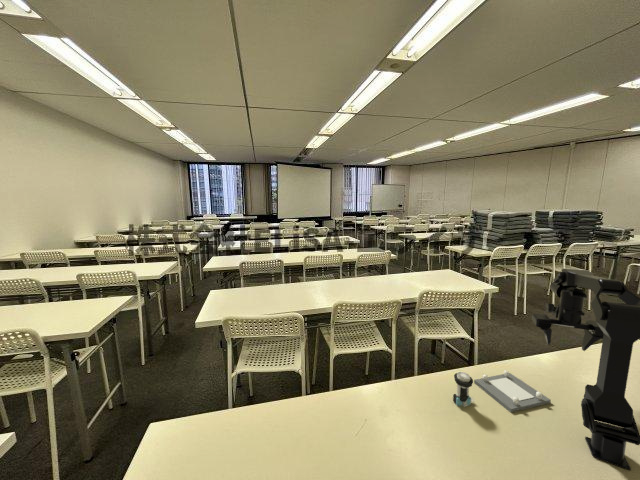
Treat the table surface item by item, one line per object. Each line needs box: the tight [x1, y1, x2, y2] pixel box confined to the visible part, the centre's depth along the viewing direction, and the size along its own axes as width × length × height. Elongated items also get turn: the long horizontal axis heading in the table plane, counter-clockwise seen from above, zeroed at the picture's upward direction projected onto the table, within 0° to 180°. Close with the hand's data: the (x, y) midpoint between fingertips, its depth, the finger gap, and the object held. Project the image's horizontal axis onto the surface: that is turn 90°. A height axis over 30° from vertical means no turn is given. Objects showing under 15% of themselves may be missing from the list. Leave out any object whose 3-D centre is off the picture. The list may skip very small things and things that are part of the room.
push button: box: [452, 371, 475, 408], centre depth 82 cm, size 7×5×10 cm
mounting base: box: [473, 369, 552, 413], centre depth 87 cm, size 14×16×3 cm
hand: (565, 347), depth 88 cm, fingers open, 9 cm apart
